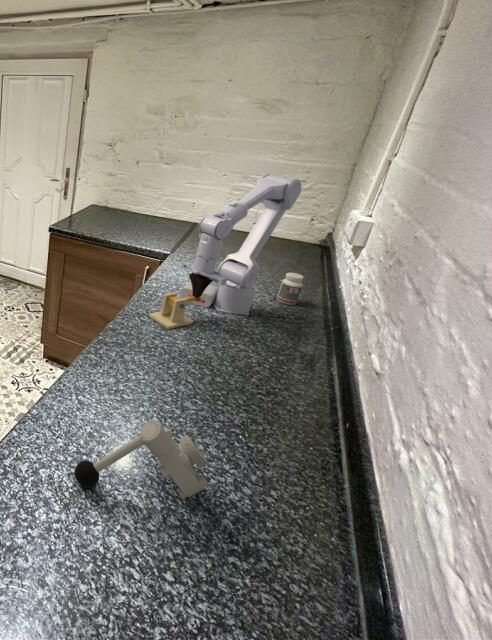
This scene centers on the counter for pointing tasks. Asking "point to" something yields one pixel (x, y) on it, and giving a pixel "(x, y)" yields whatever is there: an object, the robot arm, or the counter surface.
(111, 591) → the counter surface
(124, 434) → the counter surface
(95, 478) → the valve
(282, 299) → the pill bottle
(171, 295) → the bracket
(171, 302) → the lever
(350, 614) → the counter surface
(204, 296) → the charger
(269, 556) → the counter surface
